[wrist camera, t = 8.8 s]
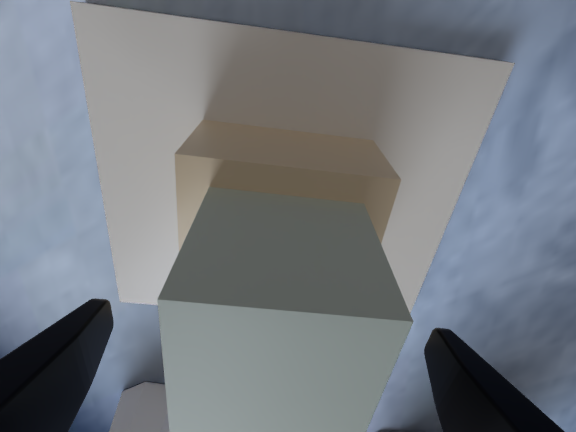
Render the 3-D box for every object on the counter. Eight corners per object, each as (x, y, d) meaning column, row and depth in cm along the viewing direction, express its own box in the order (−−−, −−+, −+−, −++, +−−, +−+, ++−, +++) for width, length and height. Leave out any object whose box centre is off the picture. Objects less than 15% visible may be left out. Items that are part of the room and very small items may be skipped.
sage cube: (334, 313, 14) (357, 452, 9) (208, 302, 13) (169, 440, 9) (364, 203, 11) (413, 321, 7) (209, 186, 11) (157, 299, 6)
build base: (399, 313, 21) (430, 392, 16) (127, 289, 20) (81, 366, 15) (500, 60, 14) (599, 80, 9) (84, 2, 13) (-22, -6, 8)
